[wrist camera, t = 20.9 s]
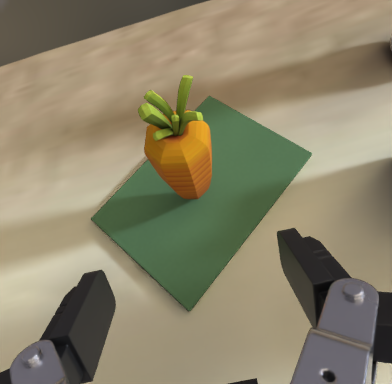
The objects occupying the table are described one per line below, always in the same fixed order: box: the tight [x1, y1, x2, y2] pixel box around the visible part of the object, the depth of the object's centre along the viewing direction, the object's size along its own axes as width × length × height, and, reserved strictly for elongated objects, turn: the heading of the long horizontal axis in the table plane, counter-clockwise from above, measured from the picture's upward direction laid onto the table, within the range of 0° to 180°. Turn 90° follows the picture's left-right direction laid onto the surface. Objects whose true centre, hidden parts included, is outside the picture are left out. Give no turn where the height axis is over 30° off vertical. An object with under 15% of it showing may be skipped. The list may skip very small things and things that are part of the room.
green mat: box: [91, 96, 312, 311], centre depth 30 cm, size 14×20×1 cm
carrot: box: [138, 75, 212, 199], centre depth 22 cm, size 5×5×15 cm
